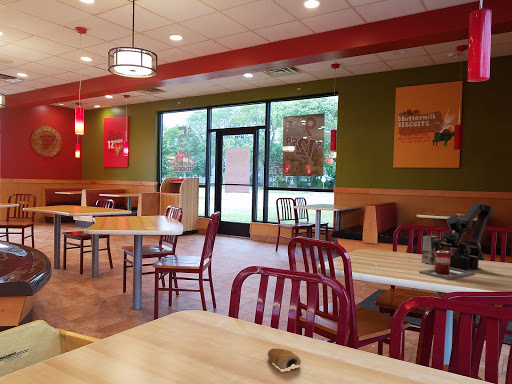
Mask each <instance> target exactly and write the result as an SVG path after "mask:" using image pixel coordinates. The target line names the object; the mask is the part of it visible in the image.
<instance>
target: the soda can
mask: <svg viewBox="0 0 512 384" xmlns="http://www.w3.org/2000/svg"><path fill="white" fill-rule="evenodd" d="M451 255H452V253H451V252H450V251H447V250H442V251H440V250H438V251H436V252H435V263H434V268H433V269H434V272H433V273H435V274H438V275H442V276H446V277H447V276H448V275H451V274H450V268H451V267H450V259H451Z"/></svg>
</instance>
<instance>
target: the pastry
mask: <svg viewBox="0 0 512 384" xmlns="http://www.w3.org/2000/svg"><path fill="white" fill-rule="evenodd" d="M267 358H268V359H269V361H270V360H271V362H272V363H274V364H275V365H276V366H278V367H279V368H280V369H285V368H288V367H290V366H291V365H292V364H295V365H300V364H302V361H301V358H300V357H299V356H298V355H297V354H295V353H294V352H293V351H292V350H288V349H284V348H270V349H269V350H268V351H267ZM271 362H270V363H271ZM300 366H301V365H300Z"/></svg>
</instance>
